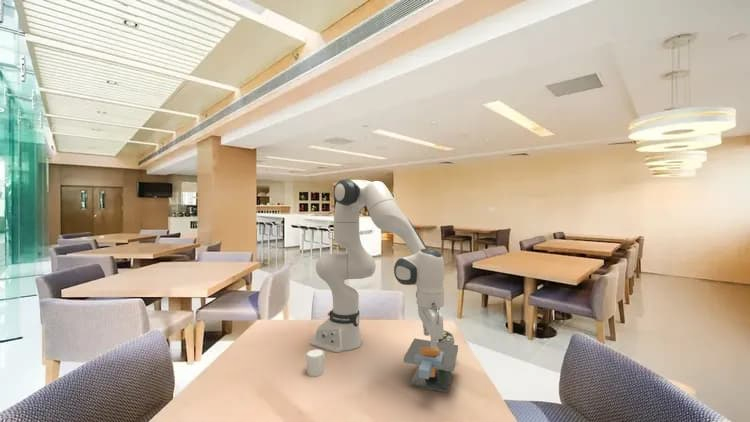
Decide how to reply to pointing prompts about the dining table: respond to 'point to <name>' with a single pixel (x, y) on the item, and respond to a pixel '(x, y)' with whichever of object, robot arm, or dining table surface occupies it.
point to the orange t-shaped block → (430, 355)
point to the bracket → (427, 363)
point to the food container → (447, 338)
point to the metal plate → (433, 366)
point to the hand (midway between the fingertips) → (429, 340)
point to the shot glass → (315, 362)
